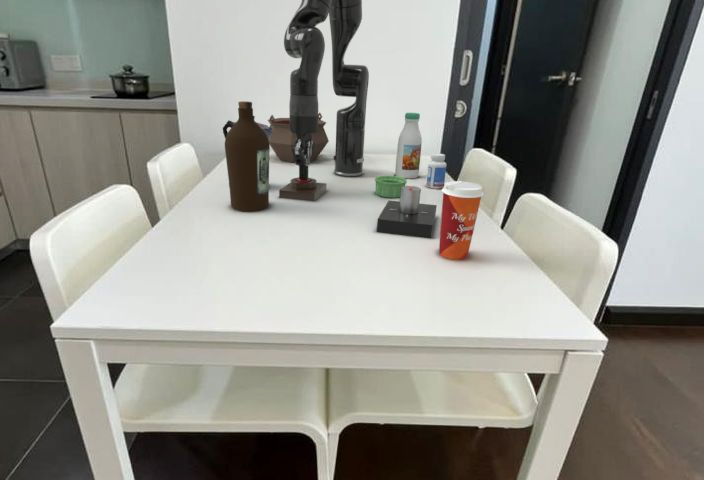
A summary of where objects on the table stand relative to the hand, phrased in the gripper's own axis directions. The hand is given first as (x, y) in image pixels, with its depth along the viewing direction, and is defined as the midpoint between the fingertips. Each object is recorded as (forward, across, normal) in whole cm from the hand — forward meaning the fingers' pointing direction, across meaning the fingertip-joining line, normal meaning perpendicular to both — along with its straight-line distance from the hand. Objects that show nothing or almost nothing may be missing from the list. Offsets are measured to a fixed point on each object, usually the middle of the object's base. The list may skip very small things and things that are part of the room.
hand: (303, 179), depth 128 cm
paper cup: (+5, -32, -42) cm, 53 cm away
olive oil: (+4, -16, +9) cm, 19 cm away
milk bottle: (+4, +34, -25) cm, 43 cm away
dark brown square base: (+4, 0, 0) cm, 4 cm away
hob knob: (+1, -16, -31) cm, 35 cm away
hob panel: (+4, -16, -31) cm, 35 cm away
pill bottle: (+4, +23, -35) cm, 42 cm away
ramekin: (+4, +9, -23) cm, 25 cm away
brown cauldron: (+4, +47, +18) cm, 51 cm away
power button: (+2, 0, 0) cm, 2 cm away
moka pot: (+4, +2, +17) cm, 18 cm away
